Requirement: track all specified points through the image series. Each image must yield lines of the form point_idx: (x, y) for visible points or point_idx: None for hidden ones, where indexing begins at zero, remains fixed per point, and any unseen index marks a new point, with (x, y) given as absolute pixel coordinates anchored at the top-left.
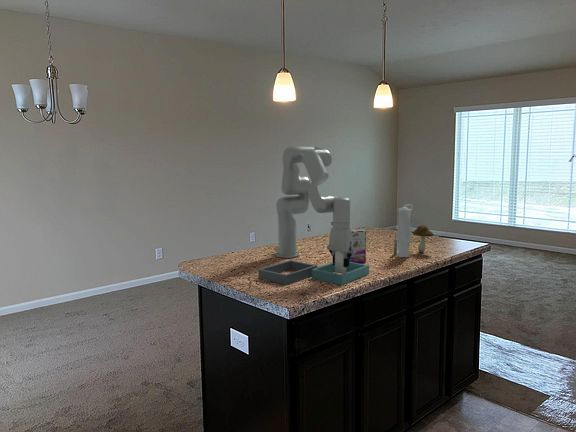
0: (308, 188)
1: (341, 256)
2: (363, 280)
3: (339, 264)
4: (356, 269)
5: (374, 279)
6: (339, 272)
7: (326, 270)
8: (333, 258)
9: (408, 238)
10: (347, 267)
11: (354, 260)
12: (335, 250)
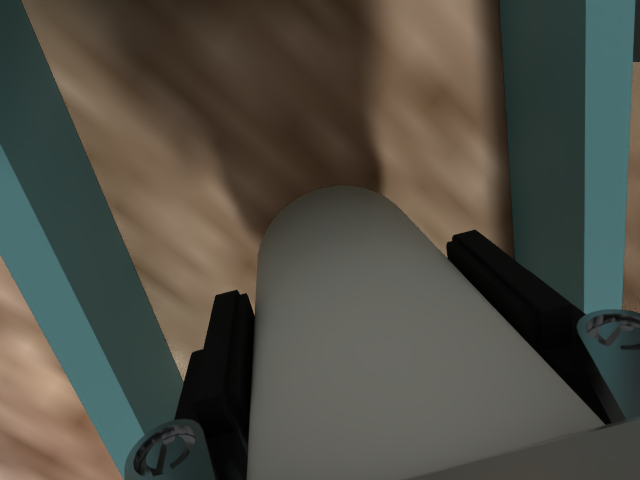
0: None
1: (280, 393)
2: (26, 336)
3: (300, 253)
4: (108, 402)
5: (5, 445)
6: (289, 205)
7: (536, 171)
8: (525, 287)
9: None
10: None
11: None
12: (572, 439)
